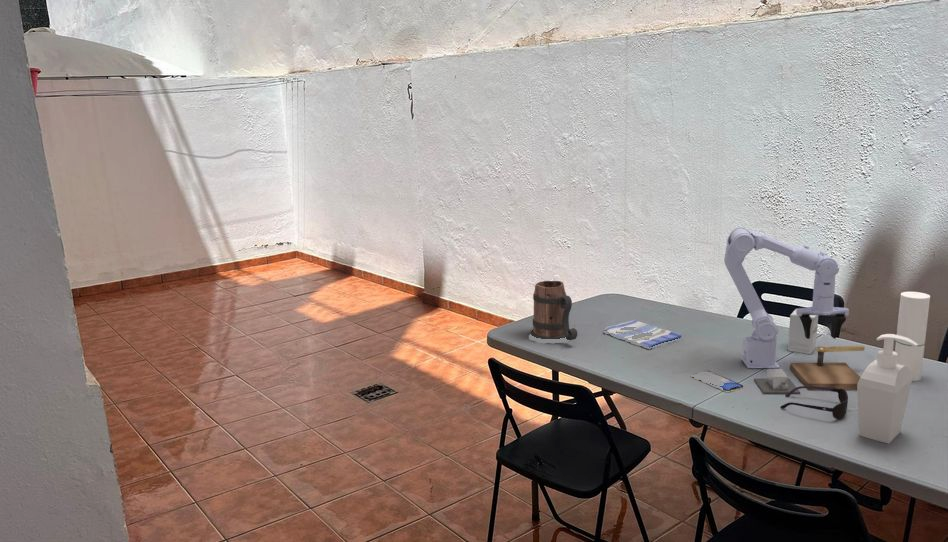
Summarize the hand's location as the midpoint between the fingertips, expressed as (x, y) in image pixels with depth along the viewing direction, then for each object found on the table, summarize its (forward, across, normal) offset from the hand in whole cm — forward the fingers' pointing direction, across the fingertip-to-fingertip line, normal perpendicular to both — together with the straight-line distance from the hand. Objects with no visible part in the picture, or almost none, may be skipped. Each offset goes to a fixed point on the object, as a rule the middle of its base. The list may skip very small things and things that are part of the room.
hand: (820, 337), depth 213 cm
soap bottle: (+10, 0, -45) cm, 46 cm away
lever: (+3, +5, -3) cm, 7 cm away
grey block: (+9, -17, -16) cm, 25 cm away
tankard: (+10, -81, +27) cm, 86 cm away
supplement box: (+10, 0, +15) cm, 18 cm away
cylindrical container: (+10, +22, -8) cm, 25 cm away
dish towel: (+10, -50, +29) cm, 59 cm away
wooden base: (+9, -1, -10) cm, 14 cm away
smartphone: (+10, -33, -12) cm, 37 cm away
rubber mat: (+9, -17, -16) cm, 25 cm away
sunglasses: (+10, -11, -30) cm, 33 cm away
